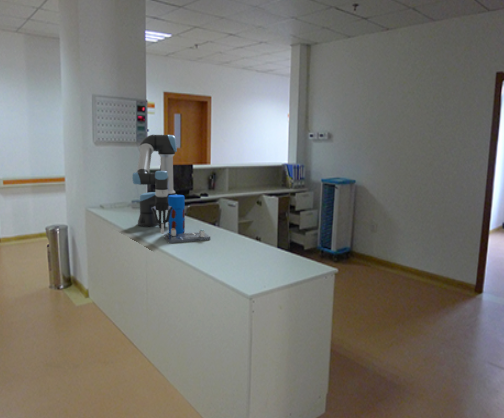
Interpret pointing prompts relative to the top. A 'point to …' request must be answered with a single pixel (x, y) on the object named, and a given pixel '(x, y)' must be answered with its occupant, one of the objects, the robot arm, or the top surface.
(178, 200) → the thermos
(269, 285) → the top surface
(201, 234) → the fader
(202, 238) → the console
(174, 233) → the fader
